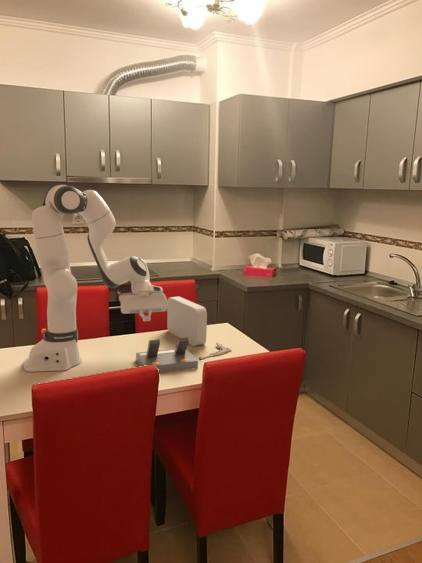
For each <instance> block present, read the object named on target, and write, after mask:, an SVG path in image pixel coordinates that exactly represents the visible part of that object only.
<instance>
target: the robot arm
mask: <svg viewBox="0 0 422 563" xmlns="http://www.w3.org/2000/svg"><path fill="white" fill-rule="evenodd" d="M75 214H79V215H80V216H82V219H83V220H84V222H85V224H86V226H87V228H88V235H87V237H86V238H87V242H88V243H87V244H88V246H89V248H90V251H91V253H92V256H93V258H94V261H95V263H96V266H97V268H98V270H99V274H100V278H101V280H102V283H103V284H104V286H106V287H108V288H111V289H116V288H118V287H120V286H121V285H123V284H125V283H128V282H130V284H131V285H130V288H131V292H126V293H125V292H122V293H121V294H119V296H118V301H119V303H120V312H121V313H122V314H139V316H140V317H141V318H142V321H143V322H149V321H151V320H152V318H151V315H152V313H158V312H159V313H160V312H167V309H168V298H167V296H166V294H165V293H164V289H163V287H161V286H156V285H154V284H152V283H151V278H150V276H151V275H150V271H149V268H148V265H147V262H146V261H145V260H144V259H142V258H139V257H137V256H135V255H131V256H127V257H125V258H123V259H121V260H119V261H116V262H114V263H109V259H108V258H107V255H106V253H105V251H104V248H103V244H104V243H105V241H106V240H107V239H109V237H110V236H111V235H112V233H113V232H114V230H115V228H116V225H117V224H116V218H115V216H114V214H113V212H112V211H111V209H110V207H109V206H108V204H107V203H106V201H105V200H104V198H103V197H102V196H101V195H100V194H99V193H98V191H96V190H94V189H86V190H84V191H82V190H80V189H78V188H76V187H74V186H72V185H67V184H58V185H52V187H50V188H49V189H48V190H47V191H46V193H45V196H44V200H43V203H42V206H38V207H37V208H35V209H34V210H32V213H31V221H32V222H31V225H32V232H33V237H34V241H35V242H34V243H35V245H36V249H37V252H38V254H37V255H38V258H39V264H40V269H41V274H42V278H43V283H44V286H45V287H46V290H47V308H46V311H47V312H46V317H47V318H46V319H47V329H46V328H42V329H41V334H42V339H41V340H40V341H39V342H37V343H36V344H35V345H33V346H32V347H31V348H30V351H29V354H28V357H27V358H26V359H24V360H23V362H22V363H23V364H22V367H23V370H24V371H26V372H29V373H31V372H32V373H33V372H57V371H58V372H59V371H68V370H69V369H71V368H73V367H75V366H78V365H80V363H81V362H82V357H81V354H80V351H79V345H78V340H79V332H78V331H79V330H78V327H77V313H76V312H77V299H78V282H77V281H78V280H77V279H76V278H75V276H74V275H73V274H72V270H71V265H70V256H69V249H68V244H67V239H66V236H65V231H64V226H63V218H64V216H65V215H75ZM145 313H147V315H145Z"/></svg>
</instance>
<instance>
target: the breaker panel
mask: <svg viewBox="0 0 422 563" xmlns="http://www.w3.org/2000/svg"><path fill="white" fill-rule="evenodd" d="M175 349H176V348H171V349H170V348H169V349H161V350H160V349H159V350H158V357H150V358H146V354H147V351H142V352H136V353H135V360H136V362H137V364H138V366H139V367H140V366H144V365H155V366H156V367H157V368H158V369H159V372H160V373H169V372H178V371H186V369H187V370H192V368H195V369H198V368H199V360H198V359H197V357H195V356H194V355H193V354H192V352H190V350H189V349H188V348H187V349H186V352H185V354H179V355H174V351H175ZM160 373H159V374H160Z"/></svg>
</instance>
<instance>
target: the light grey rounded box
mask: <svg viewBox="0 0 422 563" xmlns="http://www.w3.org/2000/svg"><path fill="white" fill-rule="evenodd" d="M167 301H168V309H167V310H166V312H167V316H166V317H167V318H166V320H167V325H166V326H167V331H168V332H169V333H170V334H173V335H174V336H176V337H177V338H188V340H189V342H188V344H190V345H192V346H194V347H196V346H197V347H198V346H203V345H205V344H206V343H207V332H208V331H207V329H208V327H207V326H208V324H207V323H208V322H207V321H208V312H207V309H206V307H205V306H203V305H201V304H198V303H195V302H193V301H191V300H188V299H186V298H184V297H182V296H171V297H170V296H169V297H168V298H167Z"/></svg>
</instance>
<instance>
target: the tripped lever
mask: <svg viewBox="0 0 422 563" xmlns="http://www.w3.org/2000/svg"><path fill="white" fill-rule="evenodd" d="M160 344H161V342H160V339H151V340H149V341H148V345H147V351H146V352H147V354H146V358H150V357H158V351H159V350H160Z"/></svg>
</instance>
